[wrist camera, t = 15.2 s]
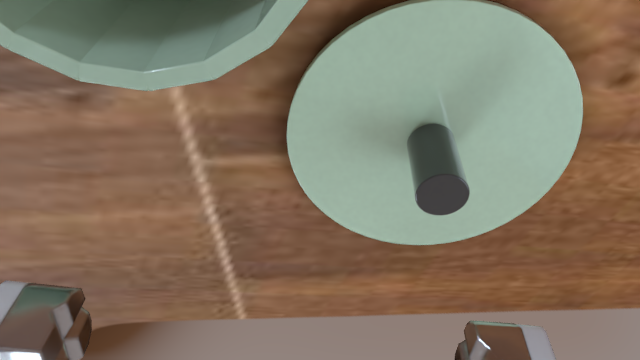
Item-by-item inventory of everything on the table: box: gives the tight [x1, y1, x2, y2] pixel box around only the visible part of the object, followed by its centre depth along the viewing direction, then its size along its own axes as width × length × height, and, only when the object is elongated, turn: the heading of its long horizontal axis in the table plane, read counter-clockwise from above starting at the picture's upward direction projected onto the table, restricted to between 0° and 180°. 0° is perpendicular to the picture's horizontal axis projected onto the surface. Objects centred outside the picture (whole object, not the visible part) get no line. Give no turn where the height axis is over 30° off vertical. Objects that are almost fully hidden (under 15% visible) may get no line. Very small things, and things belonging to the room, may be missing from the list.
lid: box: [286, 0, 583, 245], centre depth 28 cm, size 16×16×6 cm
